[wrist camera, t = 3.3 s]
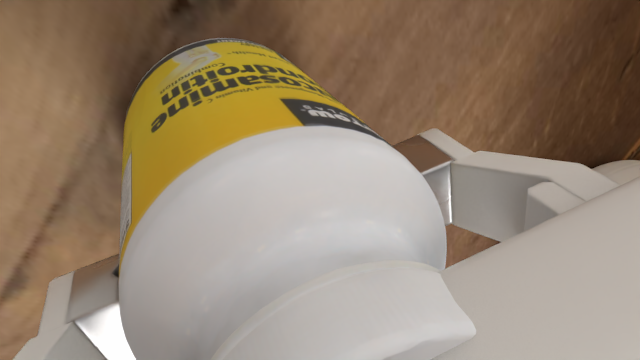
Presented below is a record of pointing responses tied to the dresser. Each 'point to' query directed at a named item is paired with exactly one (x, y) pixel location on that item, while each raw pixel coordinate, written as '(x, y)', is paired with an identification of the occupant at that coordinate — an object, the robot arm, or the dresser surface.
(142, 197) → the pill bottle
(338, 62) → the dresser surface
